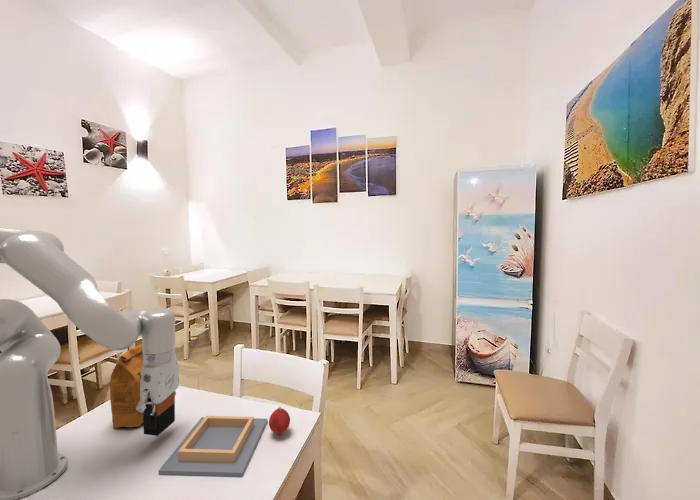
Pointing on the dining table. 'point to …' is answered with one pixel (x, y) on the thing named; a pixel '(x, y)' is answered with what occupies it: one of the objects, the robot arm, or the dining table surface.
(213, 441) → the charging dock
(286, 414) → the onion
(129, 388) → the coffee package
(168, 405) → the battery
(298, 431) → the dining table surface
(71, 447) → the dining table surface
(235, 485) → the dining table surface
